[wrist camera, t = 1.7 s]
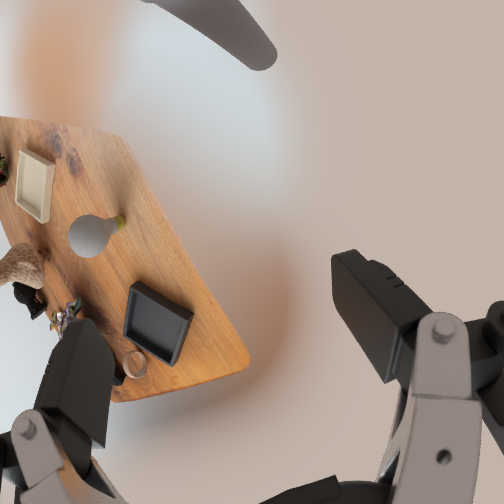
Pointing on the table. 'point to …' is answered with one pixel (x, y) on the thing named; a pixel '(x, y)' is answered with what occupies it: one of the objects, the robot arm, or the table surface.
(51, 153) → the table surface
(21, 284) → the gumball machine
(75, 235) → the light bulb
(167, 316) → the charcoal tray
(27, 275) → the figurine
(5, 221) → the table surface
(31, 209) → the ivory tray
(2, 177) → the mushroom
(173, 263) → the table surface
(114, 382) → the game controller
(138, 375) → the perforated watch strap
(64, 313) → the passion flower
